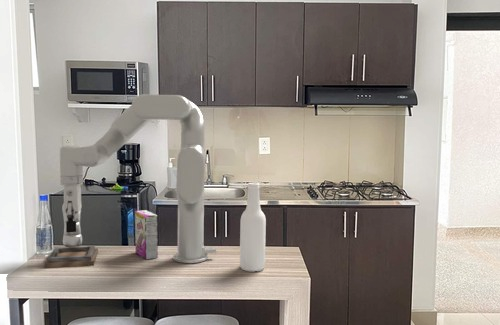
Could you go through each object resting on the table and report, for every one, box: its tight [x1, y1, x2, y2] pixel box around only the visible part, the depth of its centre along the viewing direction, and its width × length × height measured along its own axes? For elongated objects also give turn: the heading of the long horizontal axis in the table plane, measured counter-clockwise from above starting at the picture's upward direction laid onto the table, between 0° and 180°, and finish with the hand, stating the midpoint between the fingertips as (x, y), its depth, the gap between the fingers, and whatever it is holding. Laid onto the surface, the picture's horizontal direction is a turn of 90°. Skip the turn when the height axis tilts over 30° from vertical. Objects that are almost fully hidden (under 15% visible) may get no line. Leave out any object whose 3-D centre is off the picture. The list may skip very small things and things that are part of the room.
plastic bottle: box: [61, 192, 83, 248], centre depth 165 cm, size 6×7×20 cm
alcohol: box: [239, 182, 267, 273], centre depth 159 cm, size 9×9×30 cm
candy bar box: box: [134, 209, 159, 261], centre depth 173 cm, size 11×5×16 cm, turn 34°
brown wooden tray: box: [44, 245, 99, 269], centre depth 167 cm, size 16×16×3 cm
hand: (72, 229), depth 166 cm, fingers closed on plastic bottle, 5 cm apart
